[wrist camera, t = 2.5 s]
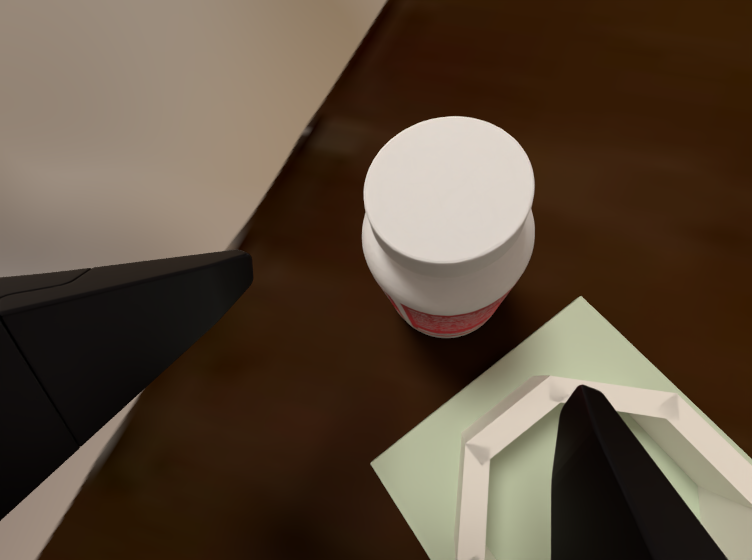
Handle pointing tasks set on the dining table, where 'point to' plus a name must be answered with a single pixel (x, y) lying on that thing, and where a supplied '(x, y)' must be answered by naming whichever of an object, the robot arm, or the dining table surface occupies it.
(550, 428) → the octagonal tray
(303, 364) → the dining table surface
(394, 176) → the pill bottle
